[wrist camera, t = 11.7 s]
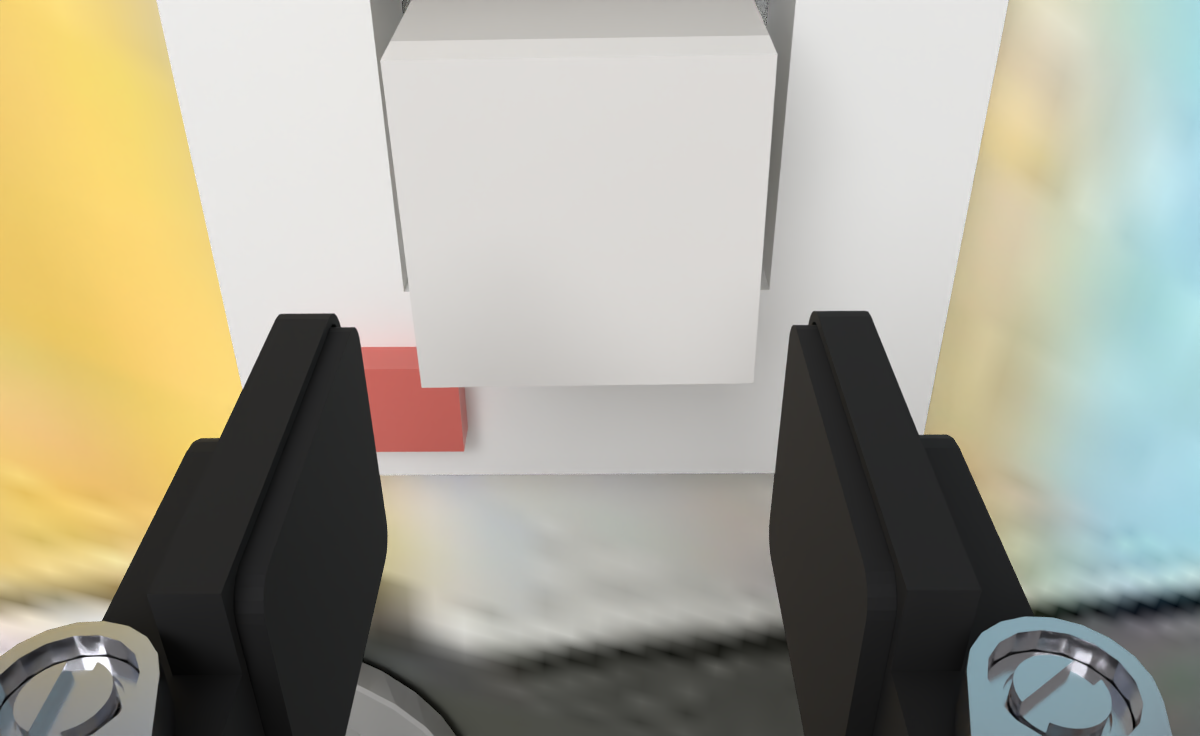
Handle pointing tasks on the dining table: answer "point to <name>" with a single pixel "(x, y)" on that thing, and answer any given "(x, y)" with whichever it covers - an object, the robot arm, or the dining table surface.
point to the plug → (582, 188)
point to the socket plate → (598, 412)
